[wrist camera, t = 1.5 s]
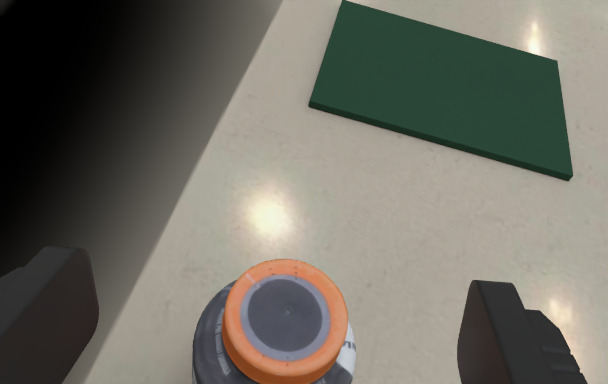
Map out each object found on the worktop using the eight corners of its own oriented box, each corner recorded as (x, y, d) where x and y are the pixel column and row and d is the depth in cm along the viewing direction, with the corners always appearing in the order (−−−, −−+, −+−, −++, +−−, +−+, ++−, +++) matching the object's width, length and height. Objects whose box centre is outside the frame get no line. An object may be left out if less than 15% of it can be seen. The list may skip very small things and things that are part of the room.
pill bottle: (328, 372, 27) (397, 266, 18) (294, 497, 23) (358, 442, 14) (220, 332, 27) (235, 208, 18) (170, 450, 24) (157, 367, 15)
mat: (308, 106, 39) (309, 100, 38) (341, 5, 47) (342, -1, 47) (568, 181, 39) (573, 175, 38) (553, 65, 47) (557, 60, 47)
